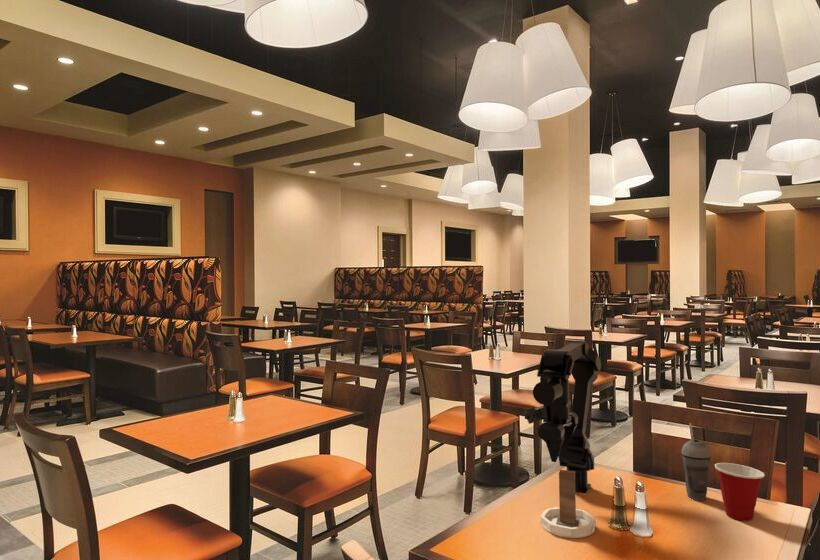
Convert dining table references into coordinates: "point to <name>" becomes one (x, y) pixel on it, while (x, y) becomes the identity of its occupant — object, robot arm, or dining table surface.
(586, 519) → the saucer
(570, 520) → the brown tall rectangular block
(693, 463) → the beverage cup
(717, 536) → the dining table surface
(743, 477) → the plastic cup
